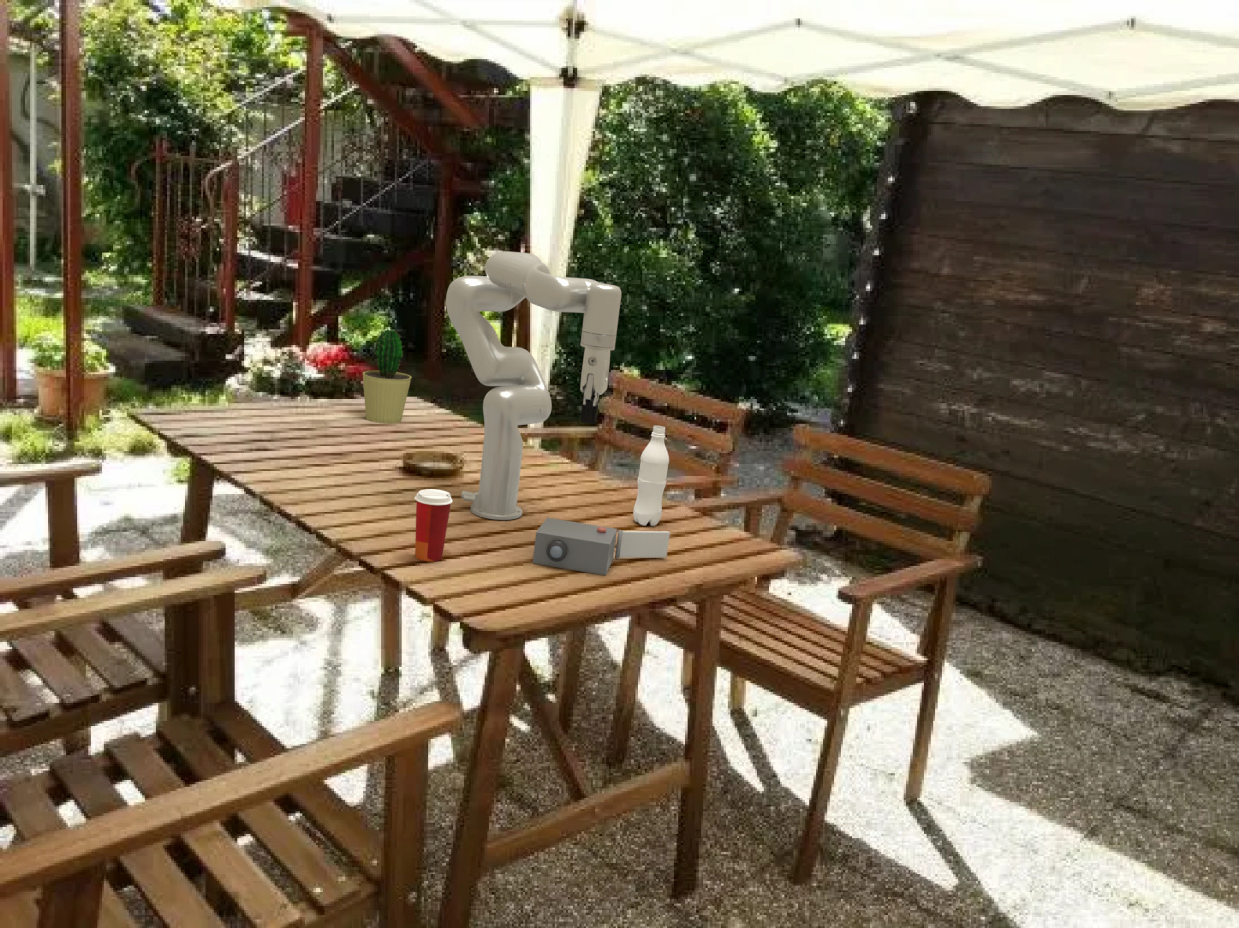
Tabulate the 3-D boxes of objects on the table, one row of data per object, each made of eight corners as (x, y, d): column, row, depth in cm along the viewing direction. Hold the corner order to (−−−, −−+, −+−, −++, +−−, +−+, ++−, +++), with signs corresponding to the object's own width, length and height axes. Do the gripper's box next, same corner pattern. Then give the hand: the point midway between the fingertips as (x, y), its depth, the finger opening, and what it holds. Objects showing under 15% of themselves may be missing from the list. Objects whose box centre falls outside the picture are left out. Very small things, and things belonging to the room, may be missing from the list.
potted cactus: (417, 422, 349) (425, 331, 342) (384, 426, 336) (391, 332, 330) (383, 412, 357) (390, 323, 350) (349, 416, 344) (355, 324, 337)
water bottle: (643, 517, 275) (656, 422, 269) (665, 525, 270) (679, 429, 265) (626, 521, 269) (639, 424, 263) (648, 529, 265) (662, 431, 259)
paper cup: (449, 553, 228) (455, 490, 225) (444, 565, 221) (450, 500, 218) (412, 549, 228) (417, 486, 225) (406, 561, 220) (412, 496, 217)
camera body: (531, 565, 228) (535, 530, 226) (543, 547, 241) (547, 514, 239) (604, 577, 226) (609, 542, 224) (613, 558, 239) (617, 525, 237)
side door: (666, 558, 243) (670, 531, 242) (615, 558, 238) (619, 531, 237) (663, 555, 245) (666, 529, 243) (612, 555, 240) (616, 528, 239)
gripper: (610, 347, 225) (599, 431, 230) (619, 339, 240) (609, 419, 244) (575, 342, 226) (565, 426, 230) (586, 335, 241) (577, 414, 245)
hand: (588, 422), depth 237 cm, fingers closed
